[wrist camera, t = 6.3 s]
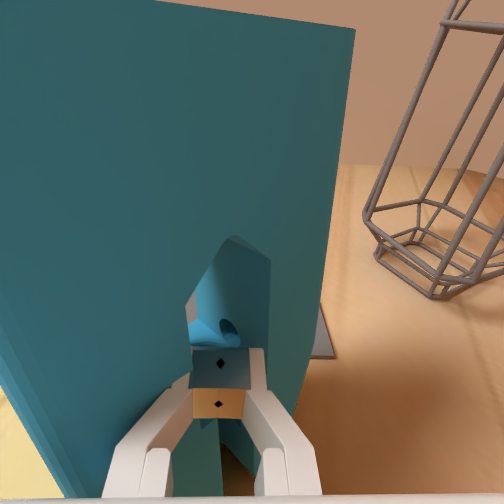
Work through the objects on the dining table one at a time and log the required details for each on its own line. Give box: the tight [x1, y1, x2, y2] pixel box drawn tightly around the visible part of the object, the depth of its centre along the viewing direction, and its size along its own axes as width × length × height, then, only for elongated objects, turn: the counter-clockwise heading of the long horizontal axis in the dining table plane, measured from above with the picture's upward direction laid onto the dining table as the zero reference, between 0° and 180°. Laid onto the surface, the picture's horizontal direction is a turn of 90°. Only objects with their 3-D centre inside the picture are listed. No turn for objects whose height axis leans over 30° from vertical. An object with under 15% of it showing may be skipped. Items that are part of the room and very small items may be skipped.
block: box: [0, 0, 356, 498], centre depth 13 cm, size 12×5×20 cm, turn 134°
